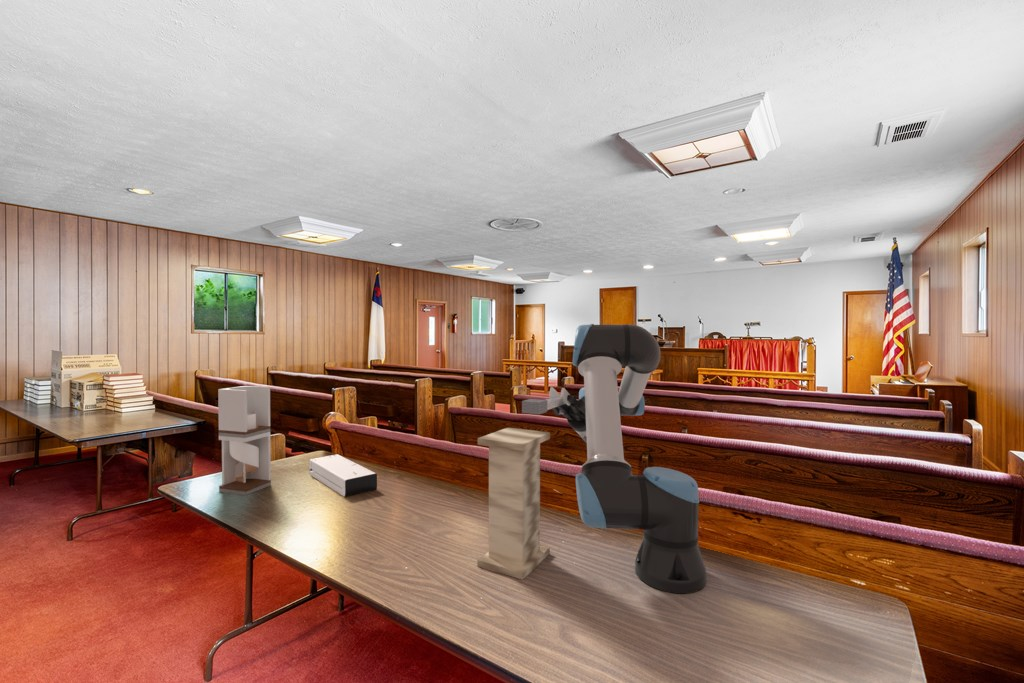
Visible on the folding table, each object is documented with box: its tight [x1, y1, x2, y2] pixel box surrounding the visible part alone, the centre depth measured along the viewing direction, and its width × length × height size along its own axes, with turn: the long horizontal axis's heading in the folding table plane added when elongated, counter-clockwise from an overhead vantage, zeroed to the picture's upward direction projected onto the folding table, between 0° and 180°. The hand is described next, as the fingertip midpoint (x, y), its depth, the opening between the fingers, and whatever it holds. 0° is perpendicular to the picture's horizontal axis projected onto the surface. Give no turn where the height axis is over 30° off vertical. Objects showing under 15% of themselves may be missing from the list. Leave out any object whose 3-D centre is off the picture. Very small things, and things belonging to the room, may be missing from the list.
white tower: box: [217, 385, 272, 496], centre depth 162 cm, size 11×11×35 cm
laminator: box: [308, 453, 378, 498], centre depth 169 cm, size 34×12×6 cm, turn 42°
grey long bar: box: [521, 394, 566, 416], centre depth 129 cm, size 24×5×3 cm, turn 151°
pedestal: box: [477, 427, 551, 580], centre depth 111 cm, size 14×12×30 cm
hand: (556, 391), depth 132 cm, fingers closed on grey long bar, 3 cm apart
